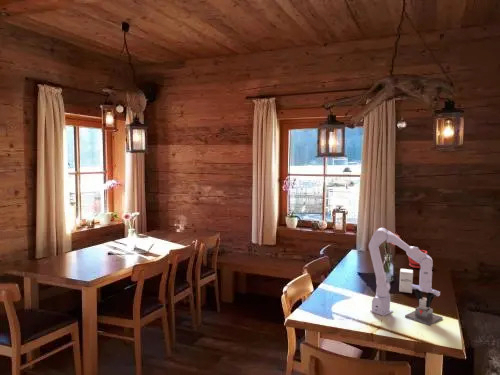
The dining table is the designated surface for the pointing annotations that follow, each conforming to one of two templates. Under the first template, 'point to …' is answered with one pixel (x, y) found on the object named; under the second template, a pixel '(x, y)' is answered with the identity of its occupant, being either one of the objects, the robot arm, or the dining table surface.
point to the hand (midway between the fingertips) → (424, 305)
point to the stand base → (424, 316)
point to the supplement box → (406, 280)
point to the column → (423, 304)
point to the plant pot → (413, 262)
